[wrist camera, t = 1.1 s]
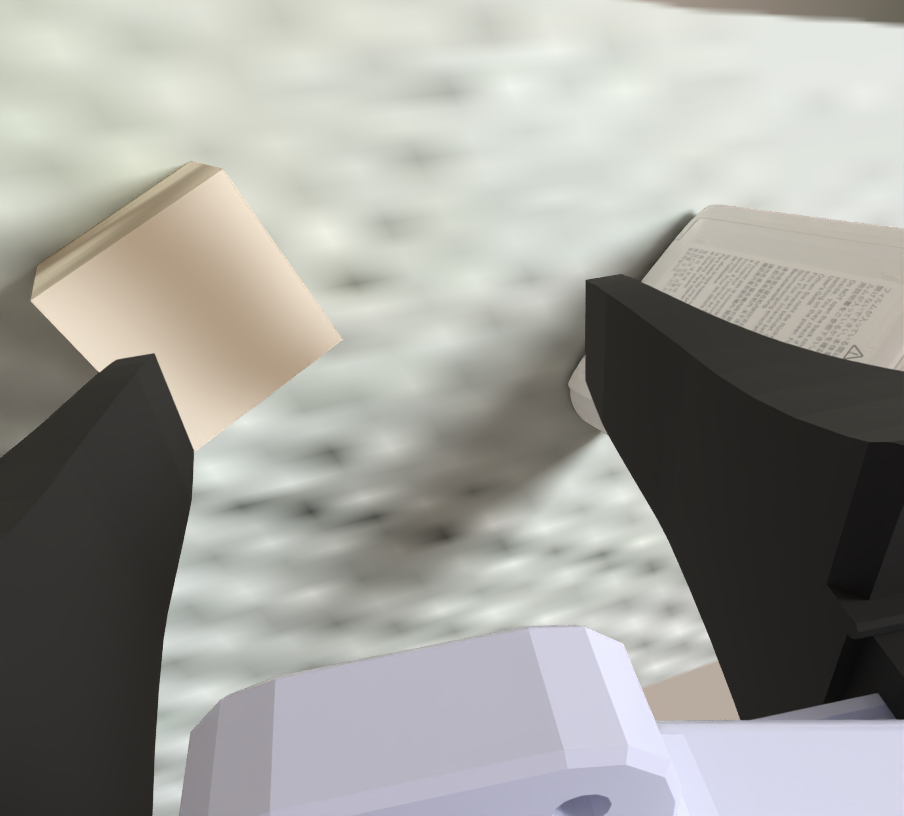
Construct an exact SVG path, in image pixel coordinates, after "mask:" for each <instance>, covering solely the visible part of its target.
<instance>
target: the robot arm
mask: <svg viewBox="0 0 904 816" xmlns="http://www.w3.org/2000/svg"><path fill="white" fill-rule="evenodd" d="M585 381H586V384H587V387H588V389H589V392H590V394H591V397H592V400H593V402H594V405H595V407H596V410H597V412H598V415H599V417H600V420H601V422H602V424H603V426H604V428H605V430H606V432H607V434H608V435H609V437H610V439H611V441H612V442H613V444H614V446H615V448H616V449H617V451H618V453H619V455H620V456H621V458H622V460H623V461H624V463H625V465H626V467H627V468H628V470H629V472H630V473H631V475H632V477H633V479H634V480H635V482H636V484H637V485H638V487H639V489H640V490H641V492H642V494H643V496H644V497H645V499H646V501H647V502H648V504H649V506H650V507H651V509H652V511H653V513H654V514H655V516H656V518H657V519H658V521H659V523H660V525H661V527H662V529H663V531H664V533H665V535H666V537H667V539H668V541H669V543H670V545H671V547H672V550H673V552H674V554H675V557H676V559H677V561H678V563H679V566H680V568H681V570H682V573H683V575H684V577H685V579H686V582H687V584H688V586H689V589H690V591H691V593H692V596H693V598H694V601H695V603H696V606H697V608H698V611H699V613H700V615H701V618H702V620H703V623H704V625H705V628H706V630H707V633H708V635H709V637H710V640H711V643H712V645H713V648H714V650H715V653H716V656H717V658H718V661H719V664H720V666H721V668H722V671H723V674H724V677H725V679H726V682H727V684H728V687H729V690H730V692H731V695H732V698H733V700H734V703H735V706H736V709H737V712H738V715H739V717H740V720H712V721H711V720H707V721H706V720H700V721H699V720H697V721H696V720H694V721H693V720H692V721H691V720H690V721H689V720H688V721H655V720H654V717H653V715H652V712H651V710H650V708H649V705H648V703H647V701H646V698H645V695H644V693H643V691H642V688H641V686H640V683H639V681H638V679H637V676H636V674H635V671H634V669H633V666H632V664H631V662H630V659H629V657H628V654H627V652H626V650H625V647H624V645H623V644H622V643H620V642H618V641H615V640H613V639H611V638H609V637H606V636H604V635H602V634H600V633H597V632H595V631H593V630H591V629H588V628H586V627H583V626H579V625H550V626H524V627H519V628H514V629H509V630H504V631H499V632H494V633H489V634H484V635H479V636H474V637H469V638H464V639H459V640H454V641H450V642H445V643H440V644H435V645H430V646H425V647H420V648H415V649H410V650H405V651H400V652H395V653H390V654H385V655H380V656H375V657H370V658H365V659H360V660H355V661H350V662H345V663H340V664H335V665H330V666H325V667H320V668H315V669H310V670H305V671H300V672H295V673H290V674H285V675H280V676H277V677H274V678H271V679H269V680H266V681H264V682H261V683H258V684H256V685H253V686H250V687H248V688H245V689H243V690H240V691H237V692H235V693H232V694H230V695H228V696H226V697H225V698H223V699H221V700H220V701H219V702H218V703H217V704H216V705H215V706H214V707H213V709H212V710H211V711H210V712H209V713H208V714H207V715H206V716H205V717H204V718H203V719H202V720H201V721H200V723H199V724H198V725H197V726H196V727H195V728H194V729H193V730H192V731H191V732H190V740H189V747H188V754H187V761H186V769H185V776H184V783H183V790H182V797H181V805H180V812H179V816H904V371H900V370H894V369H888V368H884V367H879V366H874V365H869V364H865V363H860V362H855V361H851V360H846V359H842V358H838V357H834V356H830V355H826V354H822V353H819V352H815V351H812V350H808V349H805V348H802V347H798V346H795V345H792V344H788V343H785V342H782V341H779V340H776V339H773V338H770V337H767V336H764V335H761V334H759V333H756V332H754V331H751V330H748V329H746V328H743V327H741V326H738V325H736V324H733V323H730V322H728V321H726V320H723V319H721V318H719V317H716V316H714V315H712V314H709V313H707V312H705V311H703V310H700V309H698V308H696V307H694V306H692V305H689V304H687V303H685V302H683V301H681V300H679V299H677V298H675V297H672V296H670V295H668V294H666V293H664V292H662V291H660V290H658V289H655V288H653V287H651V286H649V285H647V284H645V283H642V282H640V281H638V280H636V279H633V278H631V277H628V276H625V275H622V274H619V275H613V276H607V277H601V278H595V279H589V280H586V321H585ZM193 462H194V449H193V447H192V444H191V442H190V439H189V437H188V434H187V432H186V430H185V427H184V425H183V422H182V420H181V417H180V415H179V412H178V410H177V407H176V405H175V402H174V400H173V398H172V395H171V393H170V390H169V388H168V385H167V383H166V380H165V378H164V375H163V373H162V370H161V368H160V366H159V363H158V361H157V358H156V356H155V353H152V354H146V355H140V356H134V357H128V358H122V359H117V360H115V361H114V362H112V363H111V364H109V365H108V366H107V367H105V368H104V369H103V370H102V371H101V372H99V373H98V374H97V375H96V376H95V377H93V378H92V379H91V380H90V381H89V382H88V383H87V384H86V385H84V386H83V387H82V388H81V389H80V390H79V391H78V392H77V393H76V394H74V395H73V396H72V397H71V398H70V399H69V400H68V401H67V402H66V403H64V404H63V405H62V406H61V407H60V408H59V409H58V410H57V411H56V412H54V413H53V414H52V415H51V416H50V417H49V418H48V419H47V420H45V421H44V422H43V423H42V424H41V425H40V426H39V427H38V428H36V429H35V430H34V431H33V432H32V433H30V434H29V435H28V436H27V437H26V438H24V439H23V440H22V441H21V442H20V443H18V444H17V445H16V446H15V447H13V448H12V449H11V450H10V451H9V452H7V453H6V454H5V455H4V456H3V457H1V458H0V816H152V812H153V785H154V757H155V740H156V724H157V709H158V694H159V683H160V672H161V661H162V650H163V639H164V633H165V627H166V621H167V614H168V610H169V605H170V600H171V596H172V591H173V586H174V582H175V577H176V572H177V568H178V563H179V559H180V554H181V549H182V545H183V540H184V535H185V530H186V526H187V521H188V516H189V511H190V506H191V500H192V485H193Z"/></svg>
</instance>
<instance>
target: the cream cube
mask: <svg viewBox="0 0 904 816" xmlns="http://www.w3.org/2000/svg"><path fill="white" fill-rule="evenodd" d="M30 301H31V302H32V303H33V304H34V305H35V306H36V307H37V308H38V309H39V310H40V311H41V312H42V313H43V314H44V316H45V317H46V318H47V319H48V320H49V321H50V322H51V323H52V324H53V325H54V326H55V327H56V328H57V329H58V330H59V331H60V332H61V333H62V334H63V335H64V336H65V337H66V339H67V340H68V341H69V342H70V343H71V344H72V345H73V346H74V347H75V348H76V349H77V350H78V351H79V352H80V353H81V354H82V355H83V356H84V357H85V358H86V359H87V360H88V361H89V363H90V364H91V365H92V366H93V367H94V368H95V369H96V370H97V371H98V372H101V371H102V370H103V369H104V368H105V367H107V366H108V365H109V364H111V363H112V362H114V361H115V360H117V359H122V358H128V357H134V356H140V355H146V354H152V353H155V356H156V358H157V361H158V363H159V366H160V368H161V370H162V373H163V375H164V378H165V380H166V383H167V385H168V388H169V390H170V393H171V395H172V398H173V400H174V402H175V405H176V407H177V410H178V412H179V415H180V417H181V420H182V422H183V425H184V427H185V430H186V432H187V434H188V437H189V439H190V442H191V444H192V447H193V449H194V452H195V451H197V450H198V449H199V448H201V447H202V446H203V445H205V444H206V443H207V442H209V441H210V440H211V439H213V438H214V437H215V436H217V435H218V434H219V433H221V432H222V431H223V430H224V429H226V428H227V427H228V426H230V425H231V424H232V423H234V422H235V421H236V420H238V419H239V418H240V417H242V416H243V415H244V414H246V413H247V412H248V411H250V410H251V409H252V408H253V407H255V406H256V405H257V404H259V403H260V402H261V401H263V400H264V399H265V398H267V397H268V396H269V395H271V394H272V393H273V392H275V391H276V390H277V389H279V388H280V387H281V386H282V385H284V384H285V383H286V382H288V381H289V380H290V379H292V378H293V377H294V376H296V375H297V374H298V373H300V372H301V371H302V370H304V369H305V368H306V367H308V366H309V365H310V364H311V363H313V362H314V361H315V360H317V359H318V358H319V357H321V356H322V355H323V354H325V353H326V352H327V351H329V350H330V349H331V348H333V347H334V346H335V345H337V344H338V343H339V342H340V341H342V340H343V339H342V338H341V336H340V335H339V333H338V332H337V330H336V329H335V328H334V326H333V325H332V323H331V322H330V321H329V319H328V318H327V316H326V315H325V313H324V312H323V311H322V309H321V308H320V306H319V305H318V303H317V302H316V301H315V299H314V298H313V296H312V295H311V294H310V292H309V291H308V289H307V288H306V286H305V285H304V284H303V282H302V281H301V279H300V278H299V276H298V275H297V274H296V272H295V271H294V269H293V268H292V267H291V265H290V264H289V262H288V261H287V259H286V258H285V257H284V255H283V254H282V252H281V251H280V250H279V248H278V247H277V245H276V244H275V242H274V241H273V240H272V238H271V237H270V235H269V234H268V232H267V231H266V230H265V228H264V227H263V225H262V224H261V223H260V221H259V220H258V218H257V217H256V215H255V214H254V213H253V211H252V210H251V208H250V207H249V205H248V204H247V203H246V201H245V200H244V198H243V197H242V196H241V194H240V193H239V191H238V190H237V188H236V187H235V186H234V184H233V183H232V181H231V180H230V179H229V177H228V176H227V174H226V173H225V171H224V170H223V169H221V168H217V167H213V166H209V165H205V164H201V163H197V162H193V161H190V162H189V163H187V164H186V165H184V166H183V167H182V168H180V169H179V170H177V171H176V172H174V173H173V174H171V175H170V176H168V177H167V178H165V179H164V180H162V181H161V182H159V183H158V184H156V185H155V186H153V187H152V188H150V189H149V190H148V191H146V192H145V193H143V194H142V195H140V196H139V197H137V198H136V199H134V200H133V201H131V202H130V203H128V204H127V205H125V206H124V207H122V208H121V209H119V210H118V211H117V212H115V213H114V214H112V215H111V216H109V217H108V218H106V219H105V220H103V221H102V222H100V223H99V224H97V225H96V226H94V227H93V228H91V229H90V230H88V231H87V232H85V233H84V234H83V235H81V236H80V237H78V238H77V239H75V240H74V241H72V242H71V243H69V244H68V245H66V246H65V247H63V248H62V249H60V250H59V251H57V252H56V253H54V254H53V255H51V256H50V257H49V258H47V259H46V260H44V261H43V262H41V263H40V264H38V265H37V270H36V275H35V280H34V285H33V290H32V295H31V300H30Z"/></svg>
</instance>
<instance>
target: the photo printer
mask: <svg viewBox="0 0 904 816" xmlns="http://www.w3.org/2000/svg"><path fill="white" fill-rule="evenodd" d="M641 282H642V283H645V284H647V285H649V286H651V287H653V288H655V289H658V290H660V291H662V292H664V293H666V294H668V295H670V296H672V297H675V298H677V299H679V300H681V301H683V302H685V303H687V304H689V305H692V306H694V307H696V308H698V309H700V310H703V311H705V312H707V313H709V314H712V315H714V316H716V317H719V318H721V319H723V320H726V321H728V322H730V323H733V324H736V325H738V326H741V327H743V328H746V329H748V330H751V331H754V332H756V333H759V334H761V335H764V336H767V337H770V338H773V339H776V340H779V341H782V342H785V343H788V344H792V345H795V346H798V347H802V348H805V349H808V350H812V351H815V352H819V353H822V354H826V355H830V356H834V357H838V358H842V359H846V360H851V361H855V362H860V363H865V364H869V365H874V366H879V367H884V368H888V369H894V370H900V371H904V229H903V228H897V227H889V226H880V225H872V224H865V223H858V222H848V221H842V220H833V219H826V218H819V217H810V216H803V215H796V214H787V213H780V212H772V211H765V210H758V209H751V208H743V207H736V206H729V205H710V206H708V207H706V208H704V209H703V210H702V211H700V212H699V213H698V214H697V215H696V216H695V217H694V218H693V219H692V220H691V221H690V222H689V223H688V224H687V225H686V226H685V227H684V229H683V230H682V231H681V232H680V233H679V235H678V236H677V237H676V238H675V240H674V241H673V242H672V243H671V244H670V246H669V247H668V248H667V249H666V251H665V252H664V253H663V254H662V256H661V257H660V258H659V259H658V261H657V262H656V263H655V265H654V266H653V267H652V268H651V270H650V271H649V272H648V273H647V275H646V276H645V277H644V278H643V280H642V281H641ZM568 386H569V388H570V397H571V401H572V404H573V407H574V409H575V411H576V412H577V414H578V415H579V416H580V417H581V418H582V419H583V420H584V421H585V422H587V423H589V424H590V425H592V426H594V427H595V428H597V429H599V430H600V431H602V432H604V433H605V434H607V432H606V430H605V428H604V426H603V424H602V422H601V420H600V417H599V415H598V412H597V410H596V407H595V405H594V402H593V400H592V397H591V394H590V392H589V389H588V387H587V384H586V381H585V356H584V357H583V358H582V360H581V361H580V363H579V364H578V366H577V368H576V369H575V371H574V373H573V374H572V376H571V378H570V380H569V384H568ZM607 435H608V434H607Z"/></svg>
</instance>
